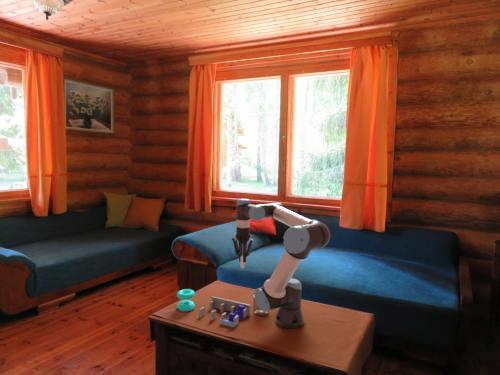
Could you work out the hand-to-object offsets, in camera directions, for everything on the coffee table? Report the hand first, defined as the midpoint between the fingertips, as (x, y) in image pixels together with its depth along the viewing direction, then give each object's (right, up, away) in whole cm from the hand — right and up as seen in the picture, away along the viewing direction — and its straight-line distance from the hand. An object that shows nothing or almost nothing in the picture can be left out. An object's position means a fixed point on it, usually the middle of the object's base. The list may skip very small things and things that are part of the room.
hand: (242, 267), depth 206 cm
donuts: (-32, -24, +3) cm, 41 cm away
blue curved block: (-4, -26, -10) cm, 28 cm away
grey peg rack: (-10, -25, -6) cm, 28 cm away
